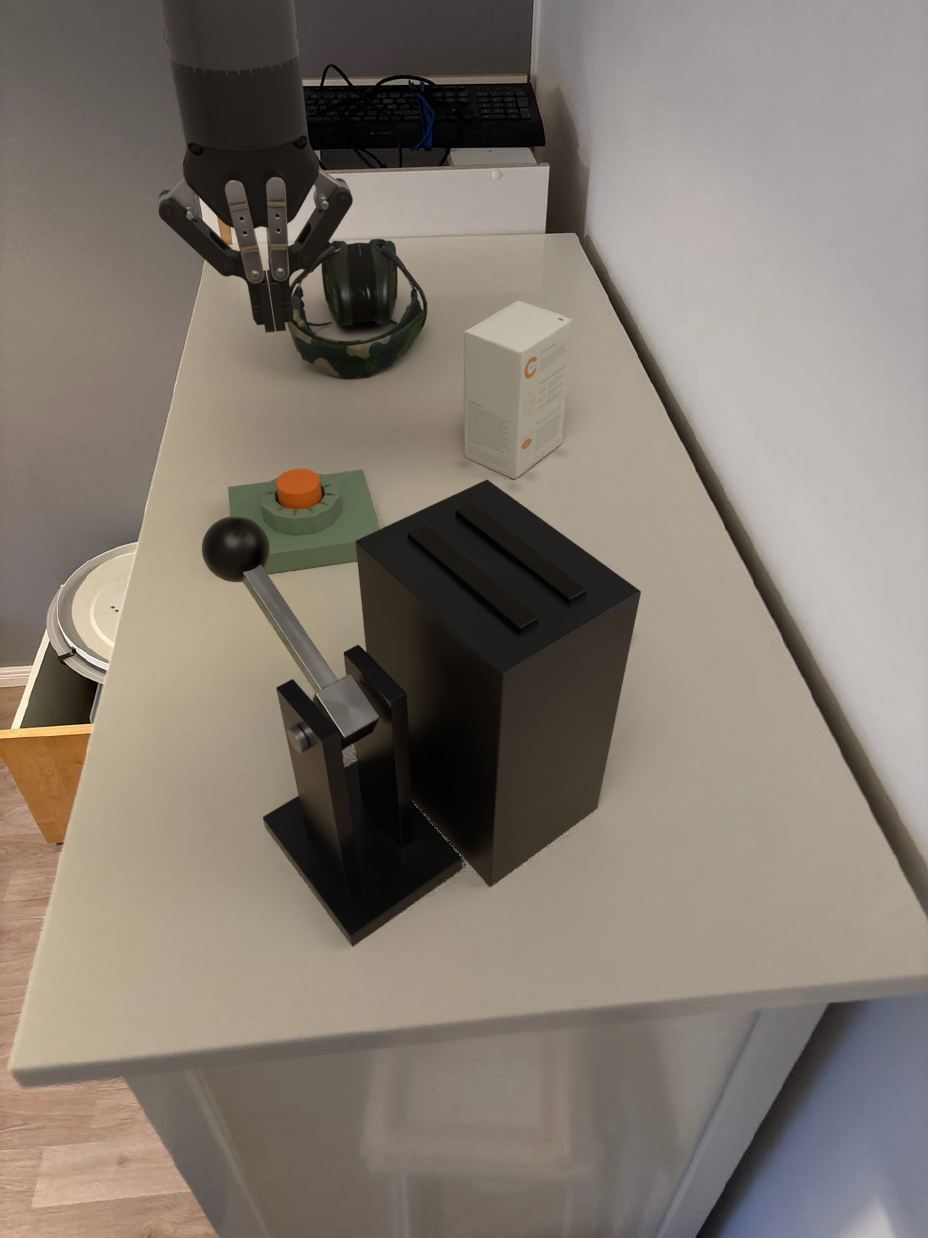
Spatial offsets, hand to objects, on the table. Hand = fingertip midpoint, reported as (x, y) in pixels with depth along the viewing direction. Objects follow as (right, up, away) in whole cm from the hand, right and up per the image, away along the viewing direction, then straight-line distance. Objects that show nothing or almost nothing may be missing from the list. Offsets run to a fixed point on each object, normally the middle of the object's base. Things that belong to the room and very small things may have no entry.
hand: (275, 326), depth 64 cm
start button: (0, -11, +11) cm, 15 cm away
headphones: (+2, +11, +39) cm, 40 cm away
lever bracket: (+7, -35, -9) cm, 37 cm away
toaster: (+15, -32, -6) cm, 36 cm away
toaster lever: (+4, -22, -15) cm, 27 cm away
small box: (+18, -5, +23) cm, 29 cm away
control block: (0, -13, +13) cm, 19 cm away
